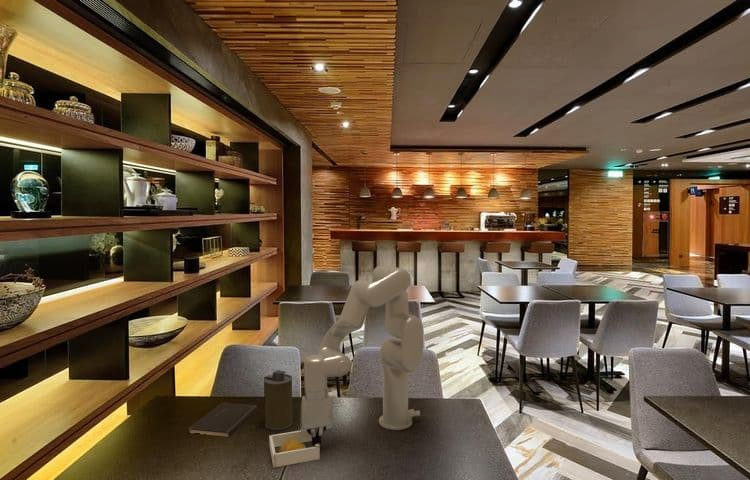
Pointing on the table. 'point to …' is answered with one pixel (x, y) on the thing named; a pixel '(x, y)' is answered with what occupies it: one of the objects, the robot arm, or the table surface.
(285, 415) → the canister
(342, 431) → the table surface
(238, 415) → the hardcover book
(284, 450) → the bread roll
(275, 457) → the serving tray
